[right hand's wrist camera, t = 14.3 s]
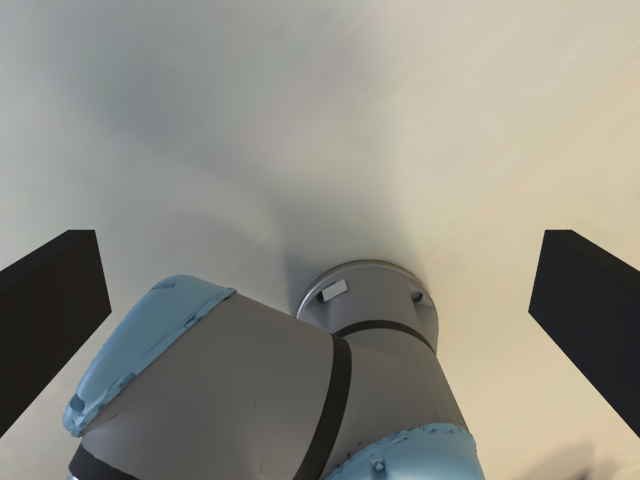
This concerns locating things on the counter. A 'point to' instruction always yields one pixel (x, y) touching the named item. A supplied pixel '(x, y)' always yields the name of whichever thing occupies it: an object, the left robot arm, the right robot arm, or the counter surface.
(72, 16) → the counter surface
